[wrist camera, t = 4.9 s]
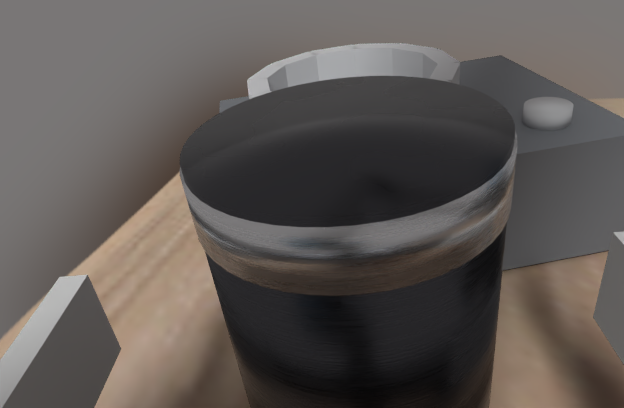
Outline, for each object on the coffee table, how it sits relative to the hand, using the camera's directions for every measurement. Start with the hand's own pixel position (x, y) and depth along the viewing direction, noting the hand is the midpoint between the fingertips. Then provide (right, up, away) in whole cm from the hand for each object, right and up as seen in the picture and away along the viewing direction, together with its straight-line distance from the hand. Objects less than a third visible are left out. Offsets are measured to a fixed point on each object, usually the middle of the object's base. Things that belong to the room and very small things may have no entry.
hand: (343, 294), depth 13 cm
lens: (+1, -6, +2) cm, 7 cm away
